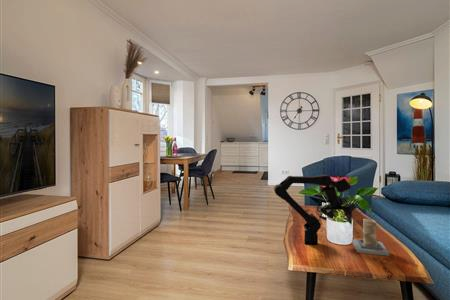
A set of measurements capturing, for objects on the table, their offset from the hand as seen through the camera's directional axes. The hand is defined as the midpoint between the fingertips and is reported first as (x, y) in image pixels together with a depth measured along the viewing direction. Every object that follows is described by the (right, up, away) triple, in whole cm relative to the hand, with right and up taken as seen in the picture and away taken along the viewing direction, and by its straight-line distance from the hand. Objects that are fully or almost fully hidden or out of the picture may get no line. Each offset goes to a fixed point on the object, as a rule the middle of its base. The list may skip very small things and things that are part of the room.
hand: (343, 222), depth 136 cm
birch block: (+10, -10, -7) cm, 16 cm away
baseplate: (+10, -11, -7) cm, 17 cm away
